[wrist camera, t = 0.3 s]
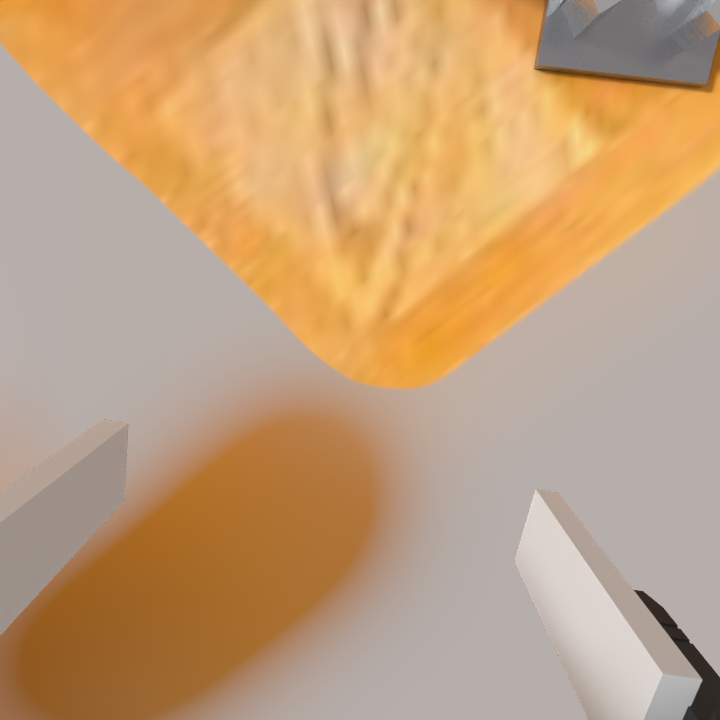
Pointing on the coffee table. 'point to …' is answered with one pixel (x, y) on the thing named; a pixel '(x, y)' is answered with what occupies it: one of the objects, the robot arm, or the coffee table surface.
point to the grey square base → (631, 39)
